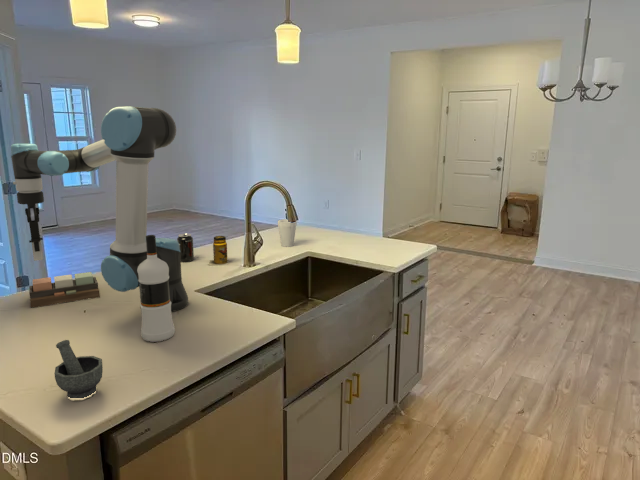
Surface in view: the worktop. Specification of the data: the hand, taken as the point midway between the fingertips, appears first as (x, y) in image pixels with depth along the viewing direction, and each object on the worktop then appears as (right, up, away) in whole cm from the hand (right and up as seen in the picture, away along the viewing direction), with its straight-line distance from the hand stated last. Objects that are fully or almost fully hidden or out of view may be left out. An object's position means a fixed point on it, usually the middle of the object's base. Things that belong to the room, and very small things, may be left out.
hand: (38, 259), depth 161 cm
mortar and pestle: (+42, -28, -54) cm, 74 cm away
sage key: (+11, -9, +9) cm, 17 cm away
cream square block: (+6, -9, +5) cm, 12 cm away
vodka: (+50, -21, -25) cm, 60 cm away
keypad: (+6, -13, +6) cm, 16 cm away
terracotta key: (0, -10, +2) cm, 10 cm away
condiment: (+51, -4, +50) cm, 71 cm away
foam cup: (+80, +4, +81) cm, 114 cm away
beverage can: (+36, -3, +53) cm, 64 cm away
